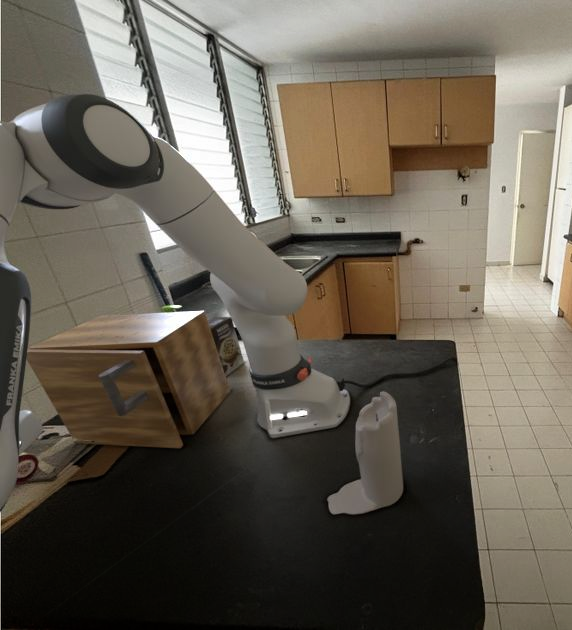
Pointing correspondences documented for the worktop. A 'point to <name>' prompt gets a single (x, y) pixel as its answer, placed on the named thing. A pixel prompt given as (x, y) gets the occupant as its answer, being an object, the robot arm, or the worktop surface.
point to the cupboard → (161, 357)
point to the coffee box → (226, 343)
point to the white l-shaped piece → (373, 461)
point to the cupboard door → (106, 396)
